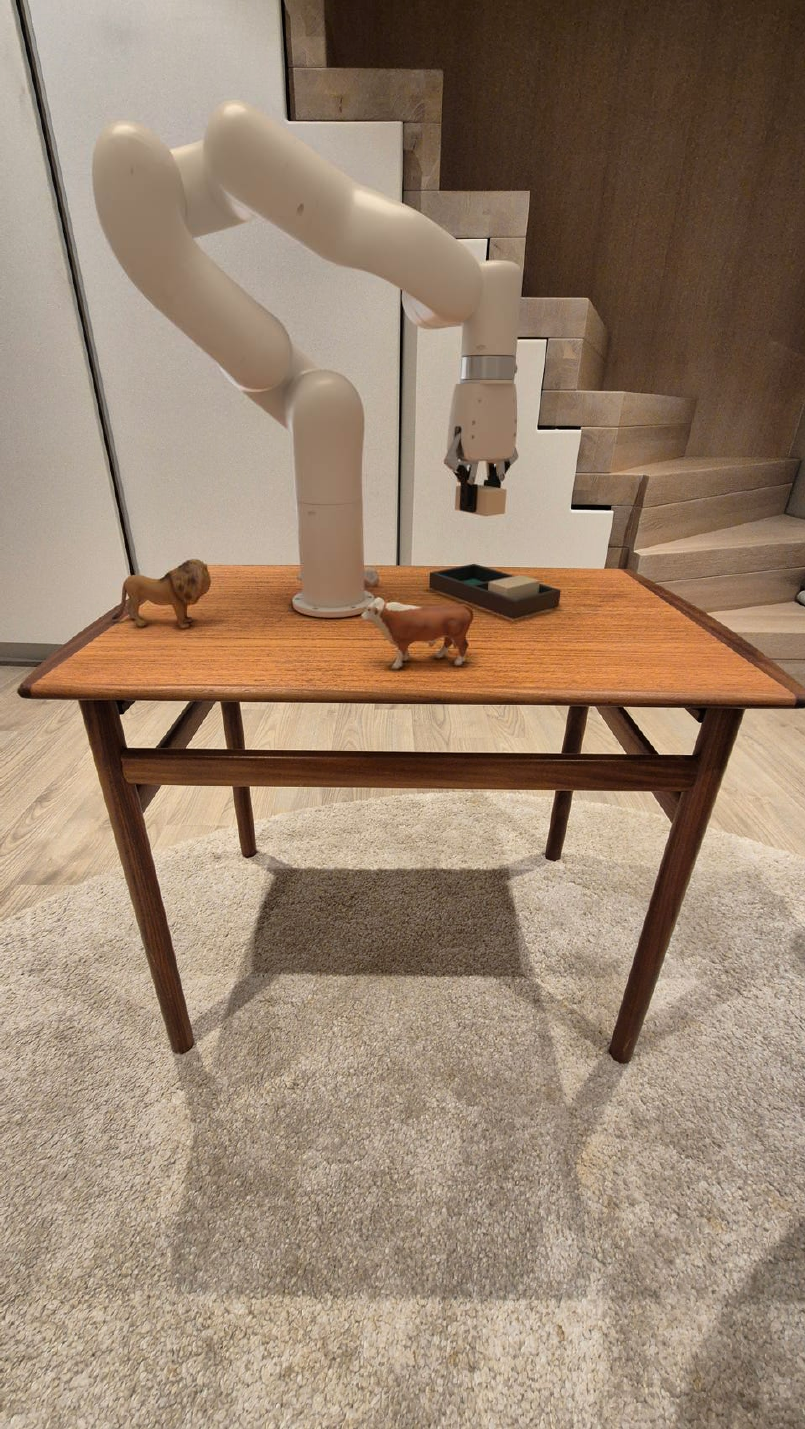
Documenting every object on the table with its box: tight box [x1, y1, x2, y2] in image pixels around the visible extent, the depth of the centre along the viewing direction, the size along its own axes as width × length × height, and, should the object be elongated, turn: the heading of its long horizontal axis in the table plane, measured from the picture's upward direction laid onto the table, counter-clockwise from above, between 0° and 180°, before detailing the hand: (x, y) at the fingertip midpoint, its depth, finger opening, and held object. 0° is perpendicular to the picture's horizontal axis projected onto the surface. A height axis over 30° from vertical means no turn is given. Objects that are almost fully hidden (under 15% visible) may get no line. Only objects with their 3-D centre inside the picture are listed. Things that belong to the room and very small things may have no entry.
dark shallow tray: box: [428, 563, 562, 620], centre depth 95 cm, size 10×19×3 cm, turn 37°
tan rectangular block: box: [454, 484, 507, 517], centre depth 91 cm, size 4×7×4 cm, turn 36°
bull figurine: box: [360, 596, 474, 670], centre depth 71 cm, size 4×13×8 cm, turn 94°
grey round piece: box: [364, 567, 381, 589], centre depth 101 cm, size 4×4×3 cm
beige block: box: [488, 574, 541, 600], centre depth 92 cm, size 4×7×4 cm, turn 127°
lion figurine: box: [110, 558, 212, 630], centre depth 83 cm, size 15×5×9 cm, turn 92°
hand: (479, 508), depth 92 cm, fingers closed on tan rectangular block, 4 cm apart
